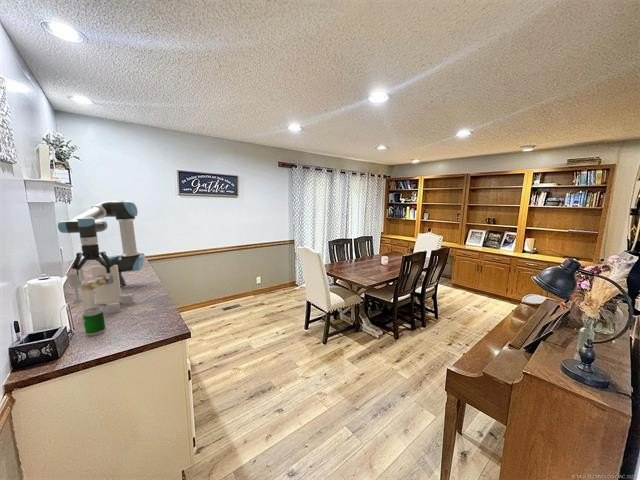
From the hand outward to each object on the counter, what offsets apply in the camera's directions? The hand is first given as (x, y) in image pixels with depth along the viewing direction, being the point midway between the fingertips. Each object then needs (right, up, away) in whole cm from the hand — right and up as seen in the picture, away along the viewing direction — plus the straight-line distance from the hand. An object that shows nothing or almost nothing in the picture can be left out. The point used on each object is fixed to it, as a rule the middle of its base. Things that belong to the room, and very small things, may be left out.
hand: (95, 279), depth 157 cm
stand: (+12, -18, +4) cm, 22 cm away
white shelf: (0, -18, +3) cm, 18 cm away
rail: (0, -4, 0) cm, 4 cm away
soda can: (+24, -22, -28) cm, 43 cm away
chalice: (-23, -17, +14) cm, 32 cm away
